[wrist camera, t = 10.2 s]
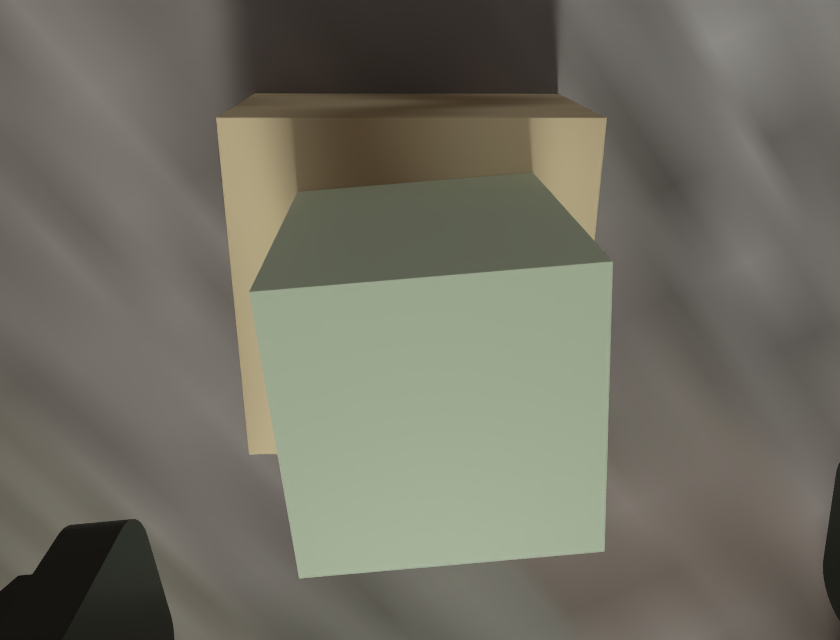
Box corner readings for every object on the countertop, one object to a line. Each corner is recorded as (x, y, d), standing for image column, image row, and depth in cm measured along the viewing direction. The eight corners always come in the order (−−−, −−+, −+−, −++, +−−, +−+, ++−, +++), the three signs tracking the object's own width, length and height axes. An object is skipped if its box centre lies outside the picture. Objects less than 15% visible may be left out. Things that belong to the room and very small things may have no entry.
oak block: (555, 93, 20) (606, 118, 15) (536, 360, 23) (573, 448, 18) (256, 92, 20) (216, 118, 15) (277, 364, 23) (249, 454, 18)
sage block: (532, 172, 16) (612, 260, 10) (535, 381, 18) (604, 551, 12) (297, 191, 16) (248, 292, 10) (326, 399, 18) (299, 578, 12)
